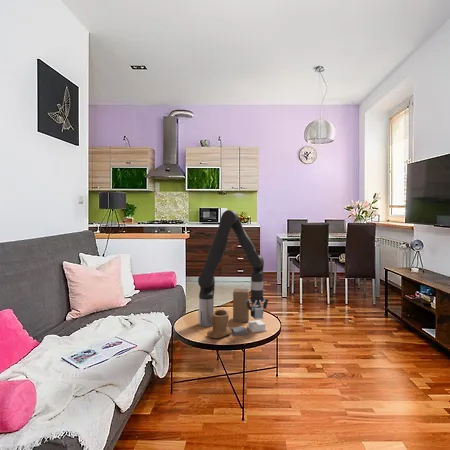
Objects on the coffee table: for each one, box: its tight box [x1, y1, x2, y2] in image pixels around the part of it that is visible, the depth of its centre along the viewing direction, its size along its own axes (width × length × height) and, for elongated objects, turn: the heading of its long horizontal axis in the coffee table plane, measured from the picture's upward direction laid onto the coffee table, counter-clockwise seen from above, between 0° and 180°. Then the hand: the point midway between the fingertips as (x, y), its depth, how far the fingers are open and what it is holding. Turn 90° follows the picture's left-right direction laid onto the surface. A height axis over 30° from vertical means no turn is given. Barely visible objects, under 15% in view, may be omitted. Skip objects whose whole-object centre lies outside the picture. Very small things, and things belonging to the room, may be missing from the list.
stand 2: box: [246, 319, 267, 333], centre depth 214 cm, size 9×9×4 cm
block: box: [232, 288, 250, 323], centre depth 231 cm, size 10×10×20 cm
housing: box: [252, 305, 264, 321], centre depth 213 cm, size 5×8×7 cm, turn 15°
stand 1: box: [230, 326, 249, 336], centre depth 208 cm, size 8×8×2 cm
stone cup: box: [206, 309, 233, 339], centre depth 202 cm, size 15×12×15 cm
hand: (256, 315), depth 213 cm, fingers closed on housing, 5 cm apart
